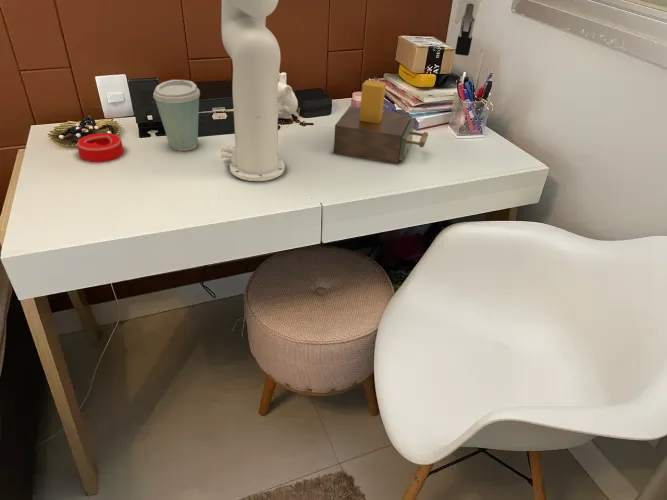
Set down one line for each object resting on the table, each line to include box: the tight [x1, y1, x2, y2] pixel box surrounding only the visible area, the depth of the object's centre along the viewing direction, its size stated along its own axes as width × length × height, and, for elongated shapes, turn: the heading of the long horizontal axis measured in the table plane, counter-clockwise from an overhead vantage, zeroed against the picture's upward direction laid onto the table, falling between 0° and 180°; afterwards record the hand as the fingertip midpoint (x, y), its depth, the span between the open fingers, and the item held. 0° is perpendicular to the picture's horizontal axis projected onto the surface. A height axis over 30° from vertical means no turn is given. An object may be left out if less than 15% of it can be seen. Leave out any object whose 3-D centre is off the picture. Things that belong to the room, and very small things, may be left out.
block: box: [359, 79, 387, 124], centre depth 130 cm, size 5×4×9 cm
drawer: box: [399, 119, 429, 162], centre depth 133 cm, size 20×13×6 cm
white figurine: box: [278, 72, 299, 120], centre depth 147 cm, size 8×7×12 cm
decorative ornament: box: [76, 132, 124, 163], centre depth 124 cm, size 10×10×3 cm
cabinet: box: [333, 105, 412, 165], centre depth 134 cm, size 16×14×7 cm
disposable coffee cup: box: [152, 79, 201, 152], centre depth 126 cm, size 11×11×15 cm
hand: (461, 54), depth 125 cm, fingers closed
